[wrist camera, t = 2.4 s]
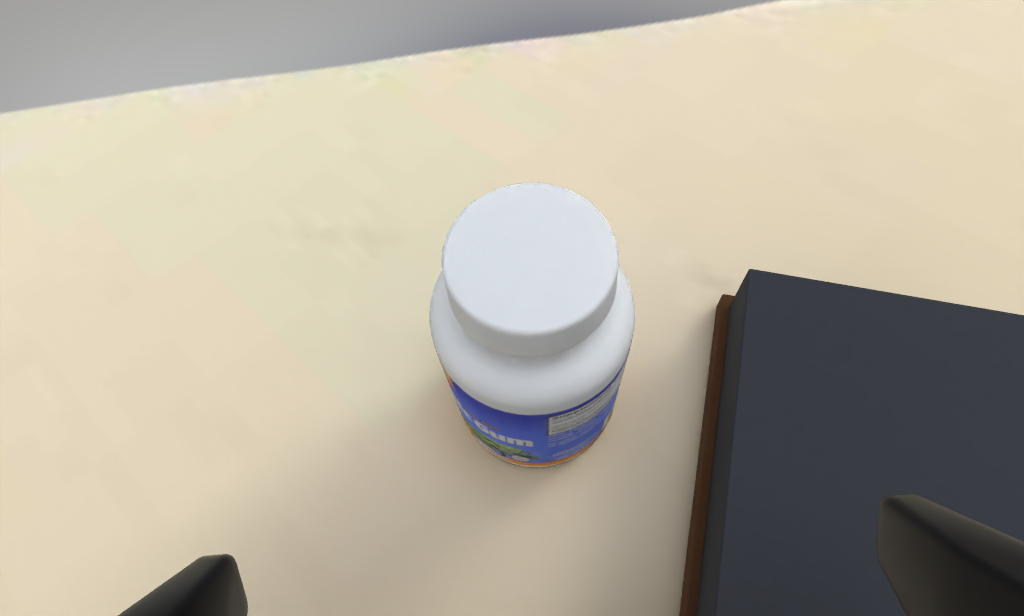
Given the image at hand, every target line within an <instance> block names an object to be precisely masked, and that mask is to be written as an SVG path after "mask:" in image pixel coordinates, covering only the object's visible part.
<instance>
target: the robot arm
mask: <svg viewBox="0 0 1024 616" xmlns="http://www.w3.org/2000/svg"><path fill="white" fill-rule="evenodd" d="M876 552H877V557H878V560H879V563H880V565H881V567H882V569H883V571H884V573H885V575H886V577H887V579H888V581H889V583H890V585H891V586H892V588H893V590H894V592H895V594H896V596H897V598H898V600H899V602H900V604H901V606H902V608H903V610H904V612H905V613H906V615H907V616H1024V542H1022V541H1020V540H1018V539H1016V538H1013V537H1011V536H1009V535H1007V534H1004V533H1002V532H1000V531H998V530H995V529H993V528H991V527H989V526H986V525H984V524H982V523H980V522H978V521H975V520H973V519H971V518H969V517H966V516H964V515H962V514H960V513H957V512H955V511H953V510H951V509H948V508H946V507H944V506H942V505H939V504H937V503H935V502H933V501H930V500H928V499H926V498H924V497H921V496H919V495H916V494H903V495H892V496H886V497H885V498H883V499H882V501H881V503H880V508H879V518H878V529H877V539H876ZM247 612H248V604H247V598H246V595H245V591H244V588H243V584H242V581H241V577H240V574H239V570H238V567H237V563H236V561H235V559H234V558H233V557H232V556H231V555H228V554H223V555H211V556H203V557H200V558H199V559H197V560H196V561H194V562H193V563H191V564H190V565H189V566H187V567H186V568H184V569H183V570H182V571H180V572H179V573H177V574H176V575H175V576H173V577H172V578H170V579H169V580H167V581H166V582H165V583H163V584H162V585H160V586H159V587H158V588H156V589H155V590H153V591H152V592H151V593H149V594H148V595H146V596H145V597H144V598H142V599H141V600H139V601H138V602H136V603H135V604H134V605H132V606H131V607H129V608H128V609H127V610H125V611H124V612H122V613H121V614H120V615H118V616H247Z"/></svg>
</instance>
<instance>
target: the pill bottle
mask: <svg viewBox="0 0 1024 616" xmlns="http://www.w3.org/2000/svg"><path fill="white" fill-rule="evenodd" d="M442 252H443V253H442V271H441V273H440V275H439V277H438V280H437V282H436V284H435V287H434V290H433V294H432V298H431V304H430V327H431V334H432V339H433V342H434V345H435V348H436V352H437V354H438V357H439V360H440V362H441V364H442V367H443V369H444V372H445V374H446V377H447V379H448V382H449V384H450V387H451V389H452V392H453V394H454V396H455V399H456V401H457V404H458V406H459V409H460V411H461V413H462V416H463V418H464V420H465V422H466V425H467V426H468V428H469V430H470V431H471V433H472V434H473V436H474V437H475V438H476V439H477V441H478V442H479V443H480V444H481V445H482V446H483V447H484V448H485V449H487V450H488V451H489V452H490V453H492V454H493V455H495V456H496V457H498V458H500V459H502V460H504V461H507V462H509V463H512V464H516V465H519V466H525V467H547V466H553V465H557V464H560V463H563V462H566V461H568V460H570V459H573V458H574V457H576V456H578V455H580V454H581V453H583V452H584V451H585V450H587V449H588V448H589V447H590V446H591V445H592V444H593V443H594V442H595V441H596V440H597V439H598V437H599V436H600V435H601V433H602V432H603V430H604V428H605V427H606V425H607V423H608V421H609V420H610V418H611V415H612V412H613V407H614V404H615V400H616V396H617V392H618V389H619V385H620V381H621V378H622V375H623V371H624V367H625V364H626V360H627V357H628V353H629V350H630V345H631V342H632V336H633V331H634V323H635V308H634V299H633V295H632V291H631V288H630V285H629V282H628V279H627V277H626V275H625V273H624V271H623V269H622V268H621V266H620V265H619V254H618V247H617V242H616V239H615V236H614V234H613V231H612V229H611V227H610V225H609V223H608V222H607V220H606V218H605V217H604V216H603V215H602V214H601V213H600V211H599V210H598V209H597V208H596V207H595V206H594V205H593V204H591V203H590V202H589V201H587V200H586V199H585V198H583V197H582V196H580V195H578V194H576V193H574V192H572V191H570V190H568V189H565V188H562V187H559V186H555V185H549V184H543V183H519V184H514V185H508V186H505V187H501V188H498V189H495V190H493V191H491V192H489V193H487V194H485V195H483V196H481V197H480V198H478V199H477V200H475V201H474V202H472V203H471V204H470V205H469V206H468V207H466V208H465V209H464V210H463V212H462V213H461V214H460V215H459V216H458V217H457V219H456V220H455V222H454V223H453V225H452V226H451V228H450V230H449V232H448V234H447V236H446V240H445V243H444V247H443V251H442Z"/></svg>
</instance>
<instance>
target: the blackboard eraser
mask: <svg viewBox="0 0 1024 616" xmlns="http://www.w3.org/2000/svg"><path fill="white" fill-rule="evenodd" d="M903 494H916V495H919V496H921V497H924V498H926V499H928V500H930V501H933V502H935V503H937V504H939V505H942V506H944V507H946V508H948V509H951V510H953V511H955V512H957V513H960V514H962V515H964V516H966V517H969V518H971V519H973V520H975V521H978V522H980V523H982V524H984V525H986V526H989V527H991V528H993V529H995V530H998V531H1000V532H1002V533H1004V534H1007V535H1009V536H1011V537H1013V538H1016V539H1018V540H1020V541H1022V542H1024V315H1018V314H1012V313H1006V312H1000V311H995V310H989V309H983V308H977V307H971V306H965V305H959V304H953V303H948V302H942V301H936V300H930V299H924V298H918V297H912V296H906V295H901V294H895V293H889V292H883V291H877V290H871V289H865V288H859V287H853V286H848V285H842V284H836V283H830V282H824V281H818V280H812V279H806V278H801V277H795V276H789V275H783V274H777V273H771V272H765V271H759V270H754V269H749V271H748V272H747V274H746V276H745V278H744V280H743V282H742V284H741V286H740V288H739V290H738V291H737V293H736V295H735V296H731V295H725V294H723V295H722V297H721V299H720V301H719V303H718V305H717V308H716V317H715V325H714V333H713V342H712V350H711V358H710V366H709V375H708V383H707V391H706V400H705V408H704V416H703V425H702V433H701V441H700V449H699V458H698V466H697V474H696V483H695V491H694V499H693V507H692V516H691V524H690V532H689V541H688V549H687V557H686V565H685V574H684V582H683V590H682V599H681V607H680V615H679V616H907V615H906V613H905V612H904V610H903V608H902V606H901V604H900V602H899V600H898V598H897V596H896V594H895V592H894V590H893V588H892V586H891V585H890V583H889V581H888V579H887V577H886V575H885V573H884V571H883V569H882V567H881V565H880V563H879V560H878V557H877V552H876V539H877V529H878V518H879V508H880V503H881V501H882V499H883V498H885V497H886V496H892V495H903Z"/></svg>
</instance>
